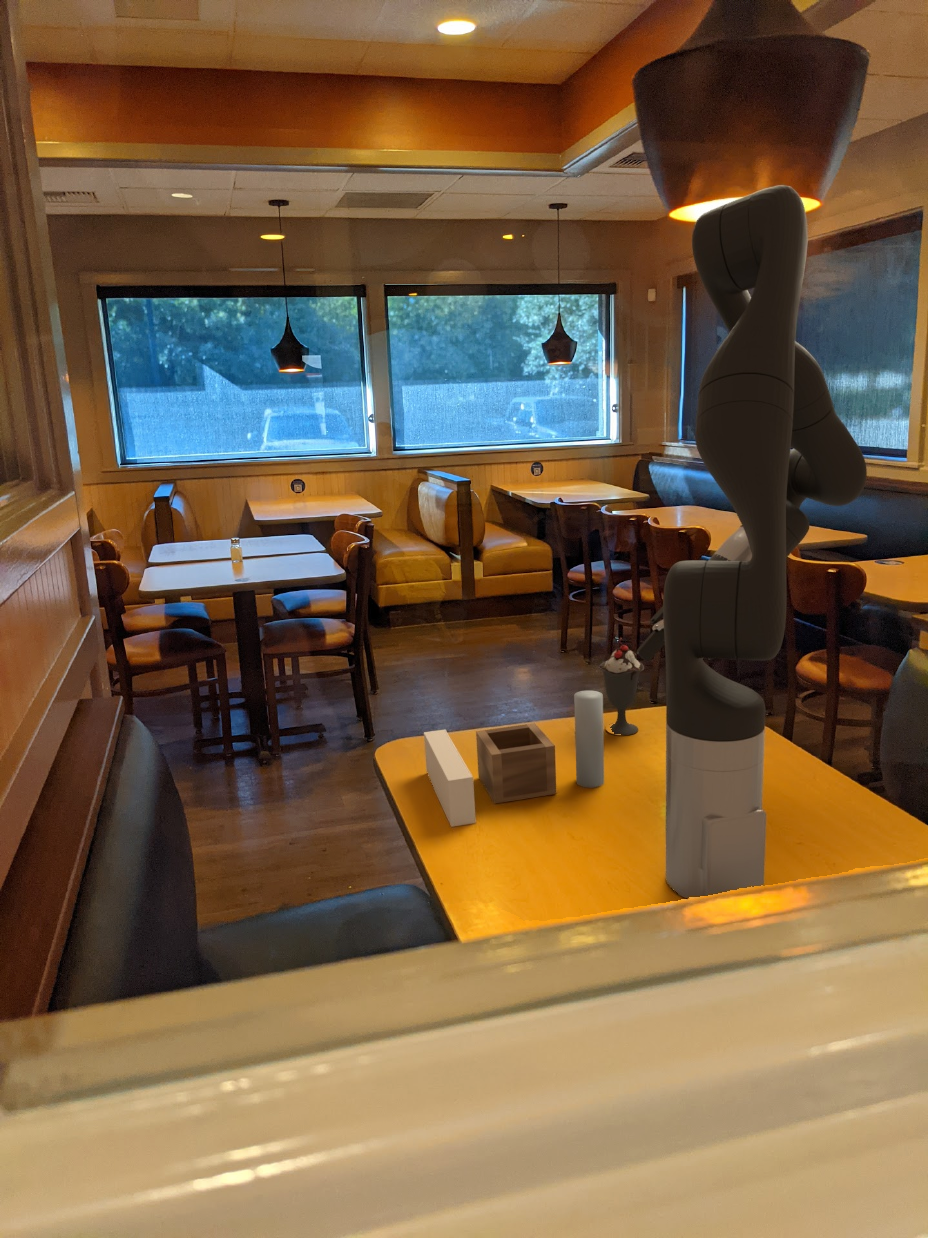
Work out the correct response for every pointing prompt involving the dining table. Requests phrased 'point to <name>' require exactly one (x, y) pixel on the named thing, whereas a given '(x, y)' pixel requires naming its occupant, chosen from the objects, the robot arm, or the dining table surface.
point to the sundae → (622, 685)
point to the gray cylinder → (589, 738)
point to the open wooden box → (516, 762)
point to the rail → (450, 778)
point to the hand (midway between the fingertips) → (655, 666)
